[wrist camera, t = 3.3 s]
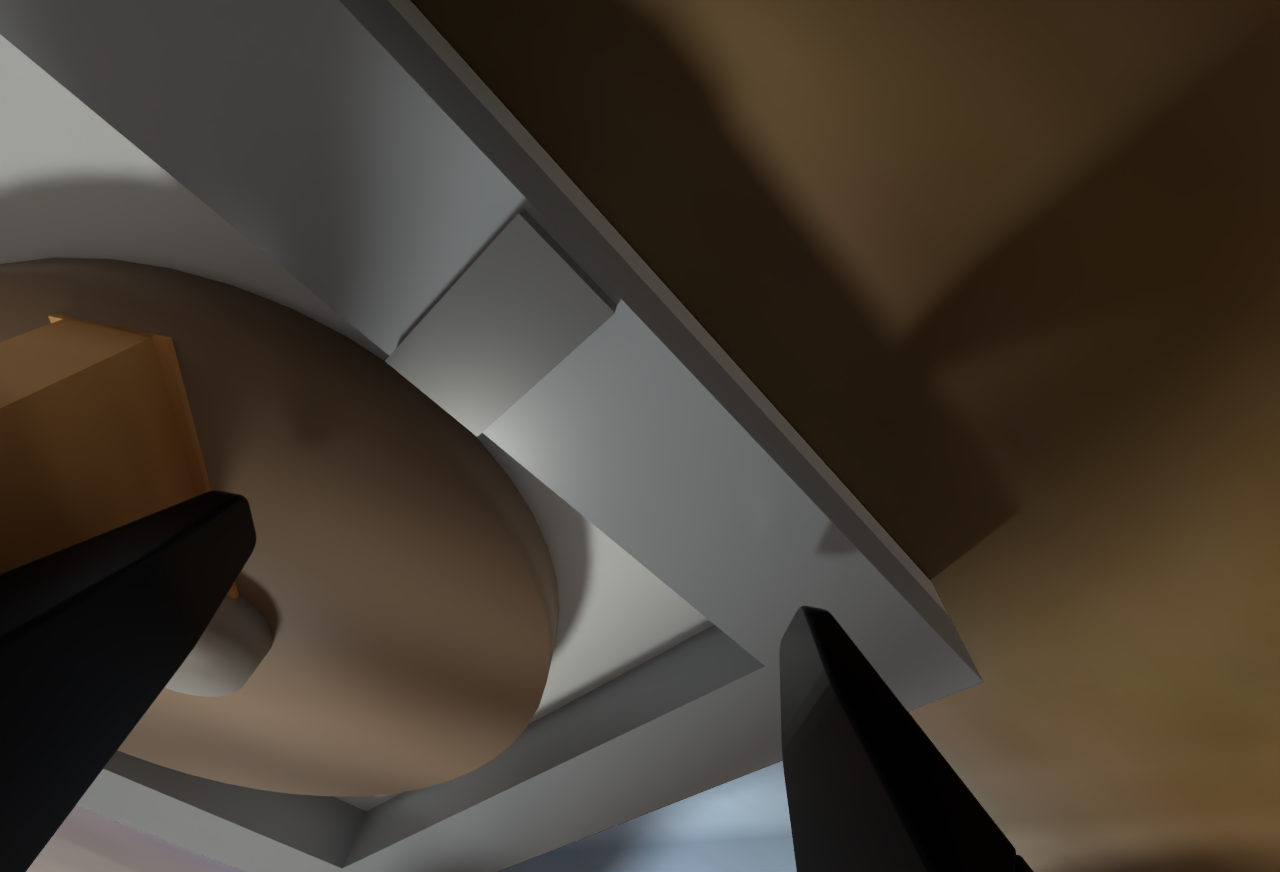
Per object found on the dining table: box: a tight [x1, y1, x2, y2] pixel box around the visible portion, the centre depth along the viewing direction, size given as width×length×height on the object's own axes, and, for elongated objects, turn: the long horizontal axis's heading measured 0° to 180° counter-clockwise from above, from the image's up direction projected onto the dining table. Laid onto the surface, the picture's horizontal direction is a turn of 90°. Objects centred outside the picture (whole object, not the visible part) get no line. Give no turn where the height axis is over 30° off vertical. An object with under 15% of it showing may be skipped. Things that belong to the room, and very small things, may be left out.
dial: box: [0, 257, 559, 796], centre depth 10 cm, size 14×14×5 cm
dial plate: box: [0, 0, 983, 872], centre depth 12 cm, size 22×22×3 cm
